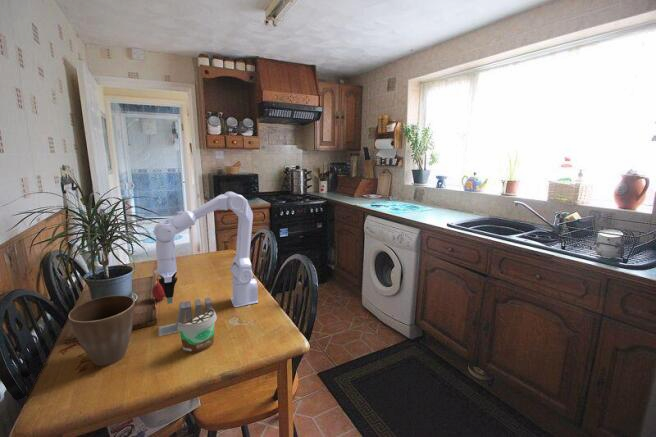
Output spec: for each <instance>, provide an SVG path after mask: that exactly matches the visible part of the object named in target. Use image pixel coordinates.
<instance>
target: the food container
mask: <svg viewBox="0 0 656 437" xmlns="http://www.w3.org/2000/svg"><path fill="white" fill-rule="evenodd" d="M217 318H218V316H217V314H216V311H215V309H214V308H213V307H212V308H211V307H210V311H208V312H206V311H205V312H202V314H201V315H197V316H196V315H195V316H194V317H193V316H192V319H190V320H189V321H187V320H186V321H184V323H183V324H181V323H178V325H177V330H179V336H180V340H181V345H182V350H183V352H185V353H188V354H190V353H191V354H193V353H195V354H196V353H200V352H203V351H206V350H208V349H210V348H211V347H212V345H213V344H214V342H215V340H214V336H215V323H216V321H217Z"/></svg>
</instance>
